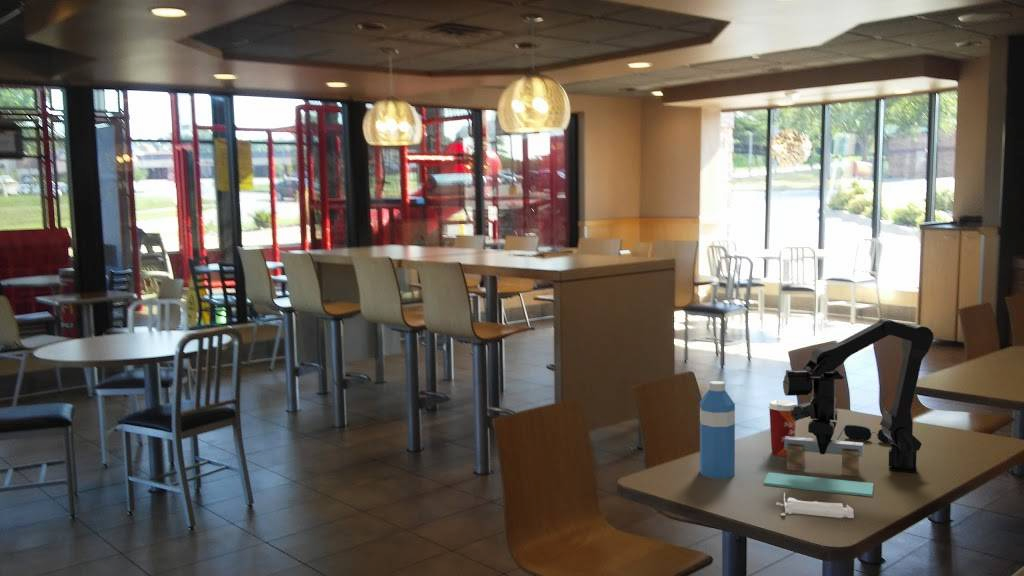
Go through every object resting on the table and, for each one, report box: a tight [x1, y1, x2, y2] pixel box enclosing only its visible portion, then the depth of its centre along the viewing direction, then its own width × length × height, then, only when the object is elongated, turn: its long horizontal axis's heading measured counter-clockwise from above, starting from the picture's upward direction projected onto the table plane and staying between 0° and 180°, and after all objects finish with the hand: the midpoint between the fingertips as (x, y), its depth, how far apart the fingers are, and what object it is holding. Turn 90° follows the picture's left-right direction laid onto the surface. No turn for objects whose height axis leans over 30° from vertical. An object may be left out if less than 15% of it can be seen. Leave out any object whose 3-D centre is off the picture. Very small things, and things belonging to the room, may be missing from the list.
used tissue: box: [775, 492, 854, 519], centre depth 204 cm, size 11×18×4 cm, turn 61°
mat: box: [763, 472, 874, 497], centre depth 224 cm, size 26×9×1 cm, turn 66°
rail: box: [784, 436, 864, 458], centre depth 236 cm, size 20×3×3 cm, turn 66°
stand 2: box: [841, 450, 860, 477], centre depth 234 cm, size 4×6×6 cm, turn 156°
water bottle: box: [699, 380, 736, 479], centre depth 234 cm, size 9×9×25 cm
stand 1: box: [786, 445, 806, 472], centre depth 239 cm, size 4×6×6 cm, turn 156°
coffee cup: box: [767, 399, 798, 457], centre depth 252 cm, size 8×8×15 cm
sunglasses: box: [836, 424, 891, 444], centre depth 256 cm, size 17×15×5 cm
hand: (823, 451), depth 236 cm, fingers open, 5 cm apart
